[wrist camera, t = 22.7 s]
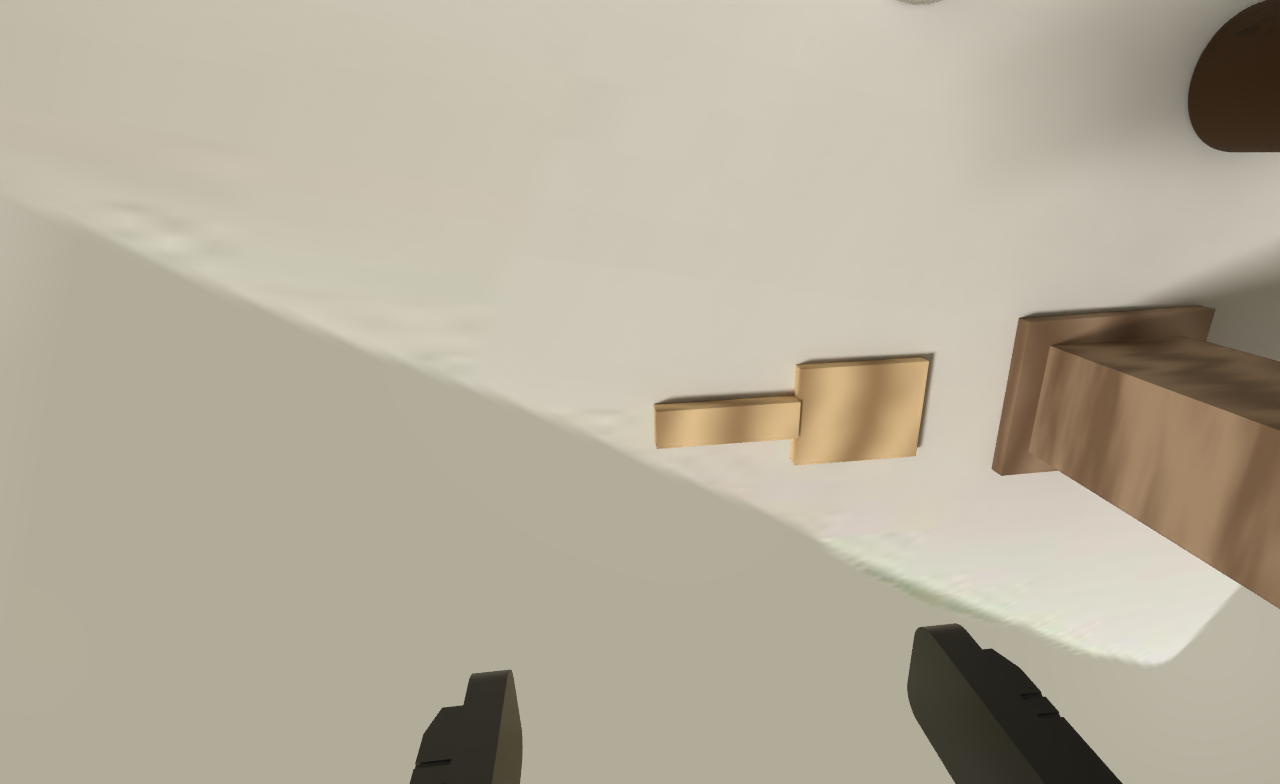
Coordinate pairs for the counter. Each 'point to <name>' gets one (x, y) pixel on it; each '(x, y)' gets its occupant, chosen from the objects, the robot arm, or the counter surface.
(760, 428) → the paddle
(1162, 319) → the stand
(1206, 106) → the olive oil
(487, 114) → the counter surface
